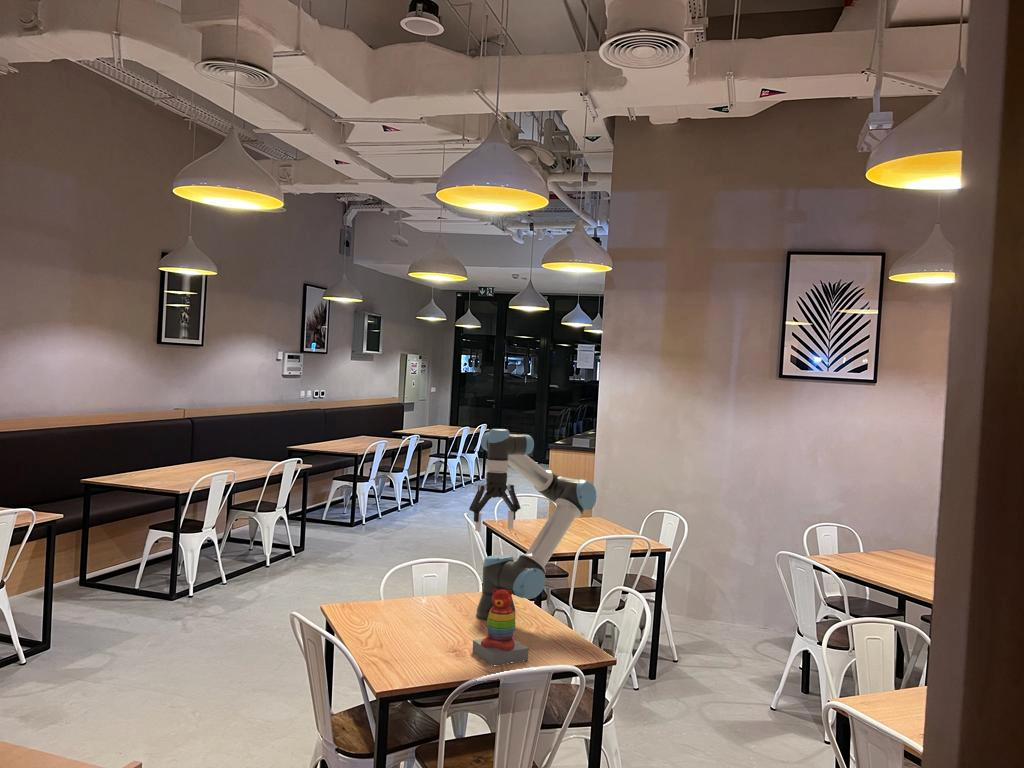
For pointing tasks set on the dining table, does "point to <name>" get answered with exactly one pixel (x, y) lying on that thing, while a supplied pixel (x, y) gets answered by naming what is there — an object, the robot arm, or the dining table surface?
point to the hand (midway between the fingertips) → (494, 530)
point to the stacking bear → (500, 622)
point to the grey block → (500, 653)
